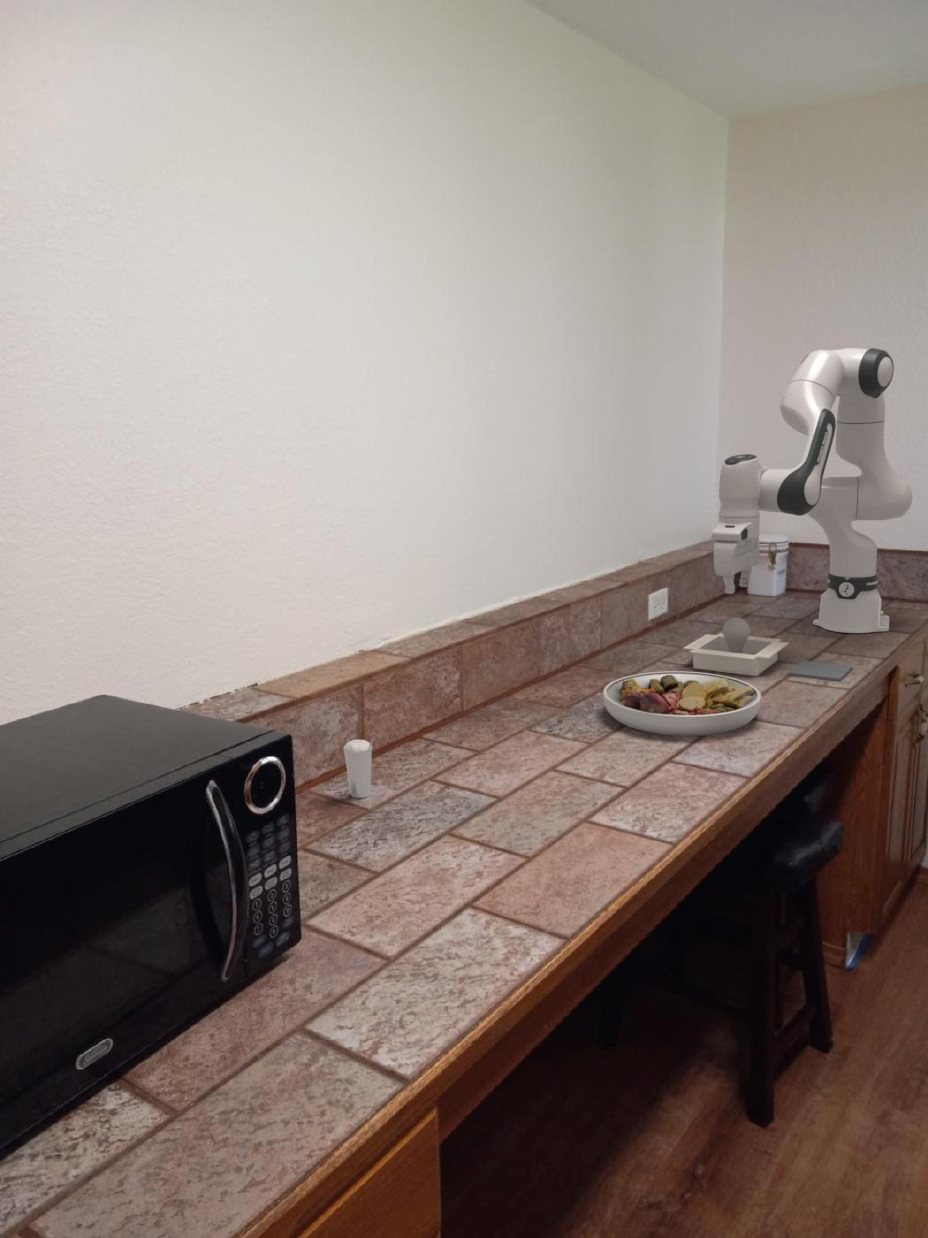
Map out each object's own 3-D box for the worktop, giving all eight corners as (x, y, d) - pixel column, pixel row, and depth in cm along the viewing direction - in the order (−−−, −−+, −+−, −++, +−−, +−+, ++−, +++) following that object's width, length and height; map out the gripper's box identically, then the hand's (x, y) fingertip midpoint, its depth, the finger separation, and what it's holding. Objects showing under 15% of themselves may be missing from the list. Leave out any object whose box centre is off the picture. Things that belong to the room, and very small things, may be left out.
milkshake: (367, 803, 157) (363, 743, 155) (340, 797, 160) (336, 738, 158) (384, 793, 161) (381, 734, 159) (358, 787, 164) (354, 729, 161)
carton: (709, 650, 241) (710, 632, 240) (791, 659, 230) (791, 640, 229) (678, 669, 225) (678, 650, 224) (764, 680, 214) (764, 660, 213)
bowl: (643, 686, 214) (643, 651, 213) (781, 706, 197) (783, 668, 196) (575, 726, 191) (575, 686, 189) (726, 753, 174) (727, 710, 172)
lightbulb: (746, 660, 230) (747, 614, 228) (751, 667, 224) (752, 620, 222) (719, 661, 231) (720, 615, 228) (724, 668, 225) (725, 620, 223)
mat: (802, 663, 226) (802, 660, 226) (852, 669, 220) (852, 666, 220) (787, 675, 218) (788, 672, 217) (839, 681, 211) (840, 678, 211)
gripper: (740, 523, 231) (738, 581, 234) (708, 533, 214) (707, 596, 217) (767, 524, 227) (765, 583, 230) (737, 534, 211) (735, 598, 214)
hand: (737, 589), depth 224 cm, fingers open, 8 cm apart
